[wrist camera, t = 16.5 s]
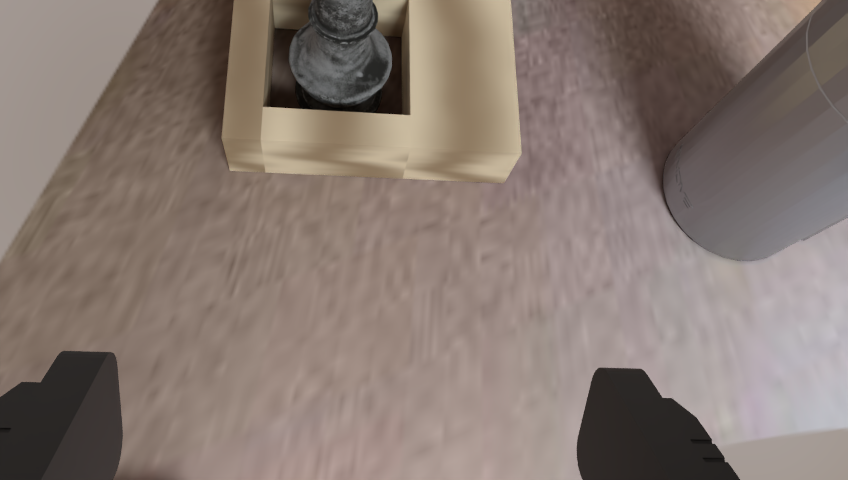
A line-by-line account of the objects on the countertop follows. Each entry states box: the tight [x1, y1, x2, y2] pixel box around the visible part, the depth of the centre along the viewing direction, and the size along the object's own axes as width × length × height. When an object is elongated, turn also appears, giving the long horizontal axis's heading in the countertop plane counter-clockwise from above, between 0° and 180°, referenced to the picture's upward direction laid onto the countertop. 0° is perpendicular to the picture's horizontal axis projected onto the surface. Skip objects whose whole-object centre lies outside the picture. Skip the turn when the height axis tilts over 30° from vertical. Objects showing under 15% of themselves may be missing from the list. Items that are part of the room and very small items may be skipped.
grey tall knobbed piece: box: [289, 0, 392, 113], centre depth 38 cm, size 6×6×12 cm
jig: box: [222, 0, 521, 183], centre depth 43 cm, size 16×13×4 cm
